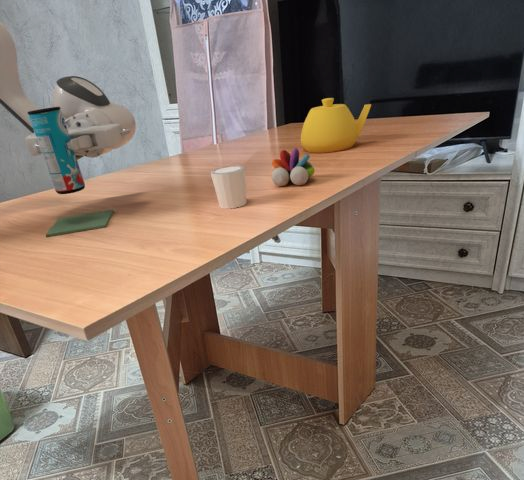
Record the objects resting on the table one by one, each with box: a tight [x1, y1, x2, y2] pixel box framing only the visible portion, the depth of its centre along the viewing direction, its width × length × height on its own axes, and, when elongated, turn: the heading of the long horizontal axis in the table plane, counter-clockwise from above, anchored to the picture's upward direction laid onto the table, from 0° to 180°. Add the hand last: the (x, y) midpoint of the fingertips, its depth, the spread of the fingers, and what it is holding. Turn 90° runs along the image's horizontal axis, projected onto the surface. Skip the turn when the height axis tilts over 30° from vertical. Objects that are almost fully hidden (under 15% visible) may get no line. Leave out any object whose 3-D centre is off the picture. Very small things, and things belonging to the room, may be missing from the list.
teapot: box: [300, 97, 372, 154], centre depth 133 cm, size 20×19×13 cm
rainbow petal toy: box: [271, 147, 316, 187], centre depth 104 cm, size 8×10×7 cm
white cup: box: [210, 165, 247, 210], centre depth 94 cm, size 7×7×7 cm
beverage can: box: [27, 107, 86, 195], centre depth 91 cm, size 6×6×15 cm
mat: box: [45, 208, 114, 238], centre depth 98 cm, size 12×12×1 cm
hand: (53, 147), depth 90 cm, fingers closed on beverage can, 6 cm apart
